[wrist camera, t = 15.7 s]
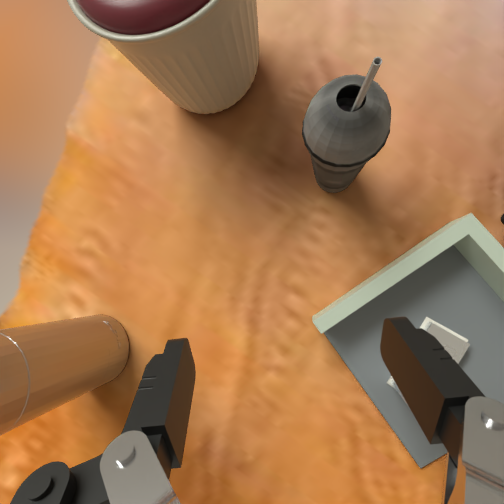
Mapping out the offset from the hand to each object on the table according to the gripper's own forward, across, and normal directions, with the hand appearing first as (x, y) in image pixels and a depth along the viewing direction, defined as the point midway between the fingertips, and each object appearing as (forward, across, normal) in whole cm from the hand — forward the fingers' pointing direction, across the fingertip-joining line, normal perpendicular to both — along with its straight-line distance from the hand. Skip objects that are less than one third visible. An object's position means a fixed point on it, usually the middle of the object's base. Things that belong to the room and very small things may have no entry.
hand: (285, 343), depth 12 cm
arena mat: (+14, -18, +16) cm, 28 cm away
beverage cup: (+27, -10, 0) cm, 29 cm away
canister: (+39, +4, -13) cm, 41 cm away
